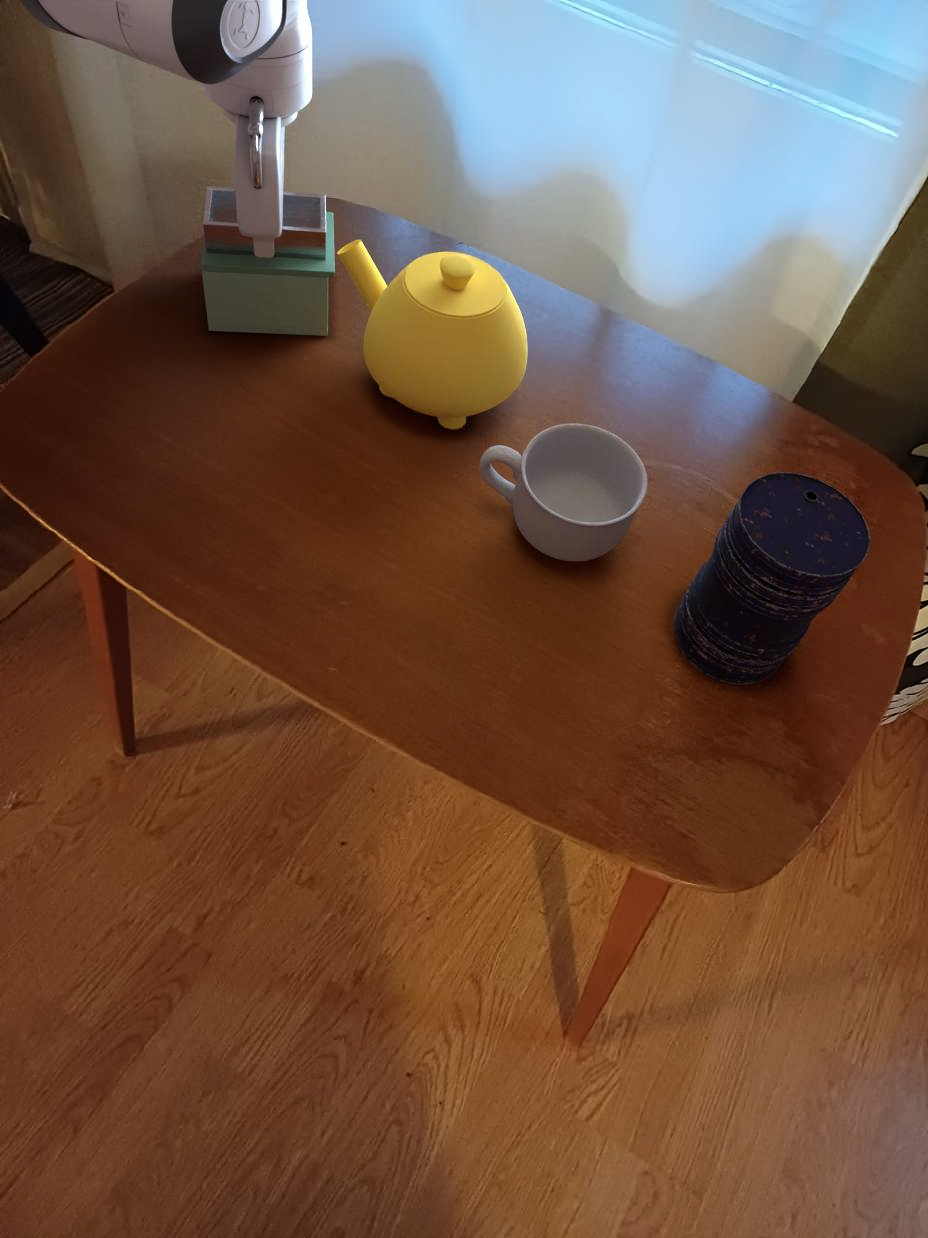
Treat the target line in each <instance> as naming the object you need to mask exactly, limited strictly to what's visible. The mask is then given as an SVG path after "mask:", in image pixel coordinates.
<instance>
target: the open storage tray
mask: <svg viewBox="0 0 928 1238" xmlns="http://www.w3.org/2000/svg"><path fill="white" fill-rule="evenodd" d="M326 198H327V197H326V194H322V193H309V192H295V191H283V222H282V233H281V236H280V237H278V238H274V256H273V257H283V258H300V259H316V260H326V212H327V210H326V209H327V202H326ZM202 227H203V237H204V236H205V246H206V253H217V254H233V255H250V256H256V255H255V254H254V244H253V238H252V237H246V236H243V235H242V234H241V233H240V231H239V228H238V222H237V208H236V193H235V187H225V186H213V185H211V186H209V185H207V186H206V193H205V201H204V213H203V222H202Z"/></svg>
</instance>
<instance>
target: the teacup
mask: <svg viewBox="0 0 928 1238" xmlns="http://www.w3.org/2000/svg"><path fill="white" fill-rule="evenodd" d="M495 462H500V463H504V464H505V465H508V467H510V468H511V470H512V476H513V478H514V480H515V484H514V483H512V482H510V481H508V480H507V479H505V478H504V477H503V476H502V475H501V474H500V473H498V472H497V471H496V470H495V468H494V467H493V466H492V464H493V463H495ZM478 465H479V467H478V469H479V473H480V476H481V477H482V479H483V481H484V482H485V483H486V484H487V485H488V486H489V487H490V488H491V489H492V490H494V491H495V492H496V493H498V494H499V495H501V496H503V497H504V499H505V502H507V503H508V504H509V505H510V506H512V510H513V517H514V522H515V524H516V527H517V529H518V530H519V532H520V533H521V535H522V536H523V538H524V539H525V540H526V541H527V542H528V543H529V544H530V545H531V546H532V547H533V548H535V549H536V550H538V551H539V552H541V554H545V555H546V556H549V557H551V558H553V559H556V560H560V561H565V562H586V561H591V560H595V559H597V558H599V557H602V556H604V555H605V554H608V552H610V551H611V550H613V549H614V548H615V547H616V546H617V545H618V544H619V543H620V542H621V540H622V539H623V537H624V536H625V534H626V533H627V531H628V529H629V527H630V526H631V524H632V523H633V520H634V519H635V516H636V514H637V512H638V510H639V509H640V507H641V506H642V505H643V502H644V500H645V499H646V495H647V494H648V493H647V492H648V485H649V484H648V483H649V481H648V474H647V471H646V467H645V465H644V463H643V461H642V459H641V458H640V456H639V455H638V453H637V452H636V451H635V450H634V449H633V447H631V445H629V444H628V443H627V442H626V441H625V440H623V439H622V438H621V437H619V436H617V435H616V434H614V433H613V432H610V431H609V430H606V429H604V428H601V427H598V426H593V425H590V424H583V423H561V424H558V425H554V426H551V427H548V428H546V429H543V430H542V431H540V432H538V433H537V434H536V435H535V436H534V437H533V438H532V439H531V440H530V441H529V442H528V444H527V445H526V447H525V449H524V450H523V453H522V455H521V454H520V453H519V452H518V451H517V450H515V449H514V448H511V447H509V446H506V445H502V444H501V445H500V444H499V445H493V446H490V447H488V448H487V449H486V450H485V451H484V452H483V454H481V457H480V459H479V463H478Z"/></svg>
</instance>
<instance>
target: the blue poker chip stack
mask: <svg viewBox="0 0 928 1238" xmlns="http://www.w3.org/2000/svg"><path fill="white" fill-rule="evenodd" d="M870 547H871V533H870V529H869V526H868V524H867V522H866V519H865V517H864V515H863V514H862V513H861V511H860V509H859V508H858V506H857V505H856V504H854V503H853V501H852V500H851V499H849V497H848V496H846V495H845V494H844V493H843V492H841V491H840V490H838V489H837V488H836V487H834V486H833V485H831V484H829V483H827V482H825V481H823V480H820V479H818V478H816V477H813V476H810V475H807V474H802V473H799V472H789V471H785V472H784V471H782V472H771V473H767V474H763V475H761V476H758V477H756V478H755V479H754V480H752V481H751V482H750V483H749V484H747V486H746V487H745V488H744V490H743V491H742V493H741V495H740V497H739V498H738V501H737V502H736V504H735V506H734V507H733V508H732V509H731V511H730V512H729V513H728V515H727V516H726V519H725V521H724V523H723V525H722V527H721V529H720V530H719V531H718V533H717V535H716V537H715V542H714V544H713V550H712V552H711V554H710V556H709V558H708V560H707V561H705V562H704V563H703V564H702V566H701V567H700V568H699V569H698V571H697V573H696V575H695V576H694V577H693V579H692V580H691V581H690V583H689V585H688V587H686V591H685V593H684V594H683V598H682V601H681V602H680V603H679V605H678V606H677V609H676V611H675V613H674V617H673V634H674V638H675V641H676V644H677V645H678V648H679V650H680V651H681V653H682V654H683V655H684V657H685V658H686V659H687V660H688V661H689V663H690V664H692V665H693V666H694V667H695V668H696V669H698V671H700V672H702V673H703V674H704V675H706V676H707V677H710V678H712V679H714V680H717V681H719V682H722V683H725V684H726V683H727V684H730V685H731V684H732V685H738V686H743V685H744V686H745V685H753V684H758V683H760V682H763V681H765V680H767V679H768V678H770V677H771V676H773V674H775V673H776V672H777V671H778V670H779V668H780V667H781V665H782V663H784V662H785V661H786V660H787V659H789V657H790V656H791V655H792V654H793V653H794V651H795V650H796V649H797V647H798V646H799V645H800V643H801V641H802V639H803V638H804V637H805V636H806V634H807V632H808V630H809V628H810V626H811V623H812V621H813V620H814V619H815V618H816V616H817V615H818V614H820V613H821V612H823V611H825V609H826V608H828V607H829V606H831V604H832V603H833V602H834V601H835V599H836V598H837V596H838V595H839V594H840V593H841V592H842V591H843V590H844V588H845V587H846V586H847V584H848V583H849V581H850V580H851V578H852V576H853V575H854V573H855V571H856V570H857V569H858V568H859V567H860V566H861V565H862V564H863V562H864V561H865V560H866V557H867V556H868V553H869V551H870Z"/></svg>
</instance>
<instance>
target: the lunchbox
mask: <svg viewBox="0 0 928 1238" xmlns="http://www.w3.org/2000/svg"><path fill="white" fill-rule="evenodd" d="M201 276H202V284H203V285H202V286H203V294H204V301H205V302H204V303H205V310H206V318H207V319H206V320H207V327H208V331H209V332H226V333H227V332H228V333H252V334H274V335H275V334H276V335H299V336H318V337H319V336H321V337H322V336H323V337H325V336H326V337H327V336H328V335H329V334H328V333H329V278H323V277H305V276H288V275H270V274H252V273H234V272H216V271H202V270H201Z"/></svg>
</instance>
